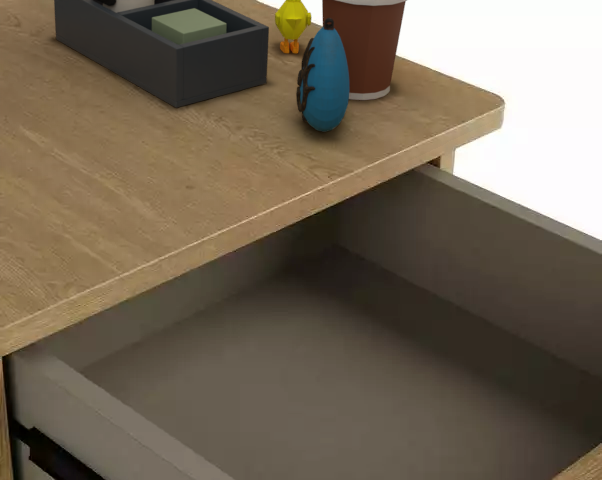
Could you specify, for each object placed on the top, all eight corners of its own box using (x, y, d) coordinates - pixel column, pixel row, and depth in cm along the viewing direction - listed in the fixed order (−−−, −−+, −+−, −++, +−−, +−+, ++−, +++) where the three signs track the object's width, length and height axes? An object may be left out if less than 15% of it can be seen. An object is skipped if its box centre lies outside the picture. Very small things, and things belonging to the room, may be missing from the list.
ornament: (293, 106, 119) (299, 0, 113) (343, 108, 119) (351, 3, 114) (295, 145, 112) (302, 34, 106) (349, 147, 112) (358, 36, 107)
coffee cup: (422, 86, 125) (436, -37, 118) (369, 114, 118) (380, -15, 112) (344, 61, 129) (354, -59, 123) (289, 86, 123) (296, -39, 116)
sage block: (182, 85, 120) (183, 33, 117) (151, 68, 123) (151, 17, 120) (225, 74, 123) (226, 23, 120) (193, 57, 126) (194, 7, 123)
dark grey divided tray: (176, 108, 117) (176, 49, 114) (55, 39, 130) (53, -16, 127) (266, 83, 123) (269, 26, 120) (143, 20, 136) (142, -33, 133)
